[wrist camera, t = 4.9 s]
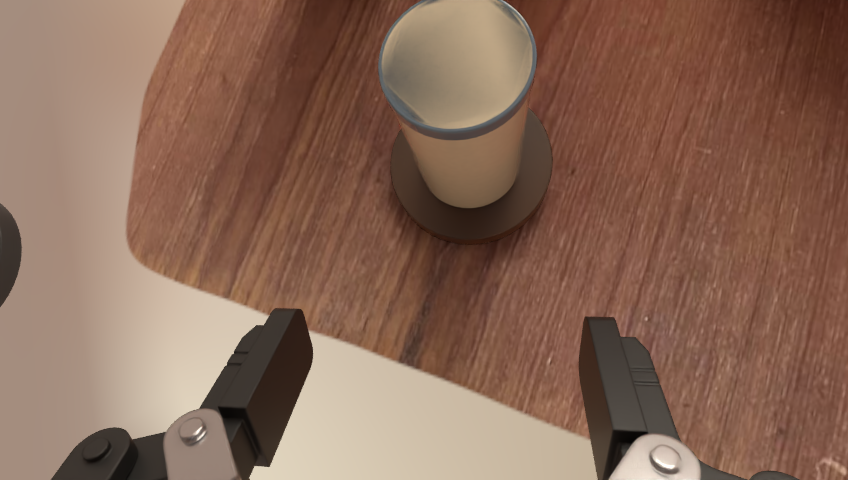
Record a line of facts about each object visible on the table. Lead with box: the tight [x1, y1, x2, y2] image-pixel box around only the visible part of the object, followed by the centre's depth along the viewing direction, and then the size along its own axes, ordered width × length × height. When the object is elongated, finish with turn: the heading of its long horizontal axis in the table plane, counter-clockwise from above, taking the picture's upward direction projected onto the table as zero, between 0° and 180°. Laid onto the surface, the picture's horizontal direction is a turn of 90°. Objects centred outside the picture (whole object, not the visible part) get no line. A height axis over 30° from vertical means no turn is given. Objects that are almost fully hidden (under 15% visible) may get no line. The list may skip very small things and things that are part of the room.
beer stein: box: [378, 0, 537, 208], centre depth 25 cm, size 6×9×11 cm
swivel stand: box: [391, 108, 553, 245], centre depth 31 cm, size 10×10×2 cm
